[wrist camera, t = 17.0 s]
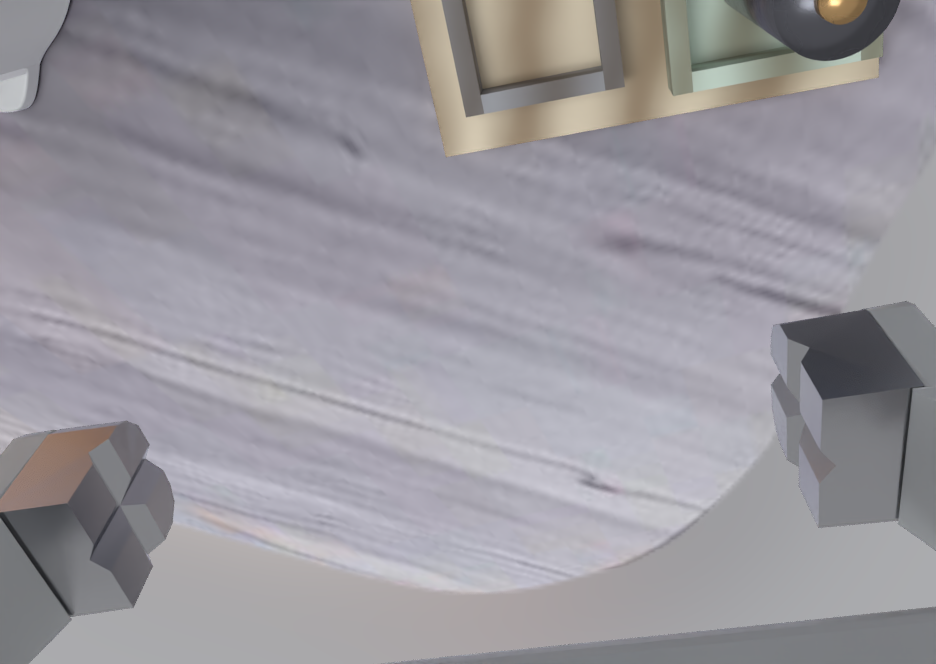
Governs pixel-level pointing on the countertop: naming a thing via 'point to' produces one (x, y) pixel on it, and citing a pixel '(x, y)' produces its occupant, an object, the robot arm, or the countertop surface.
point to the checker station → (601, 65)
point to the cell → (820, 24)
